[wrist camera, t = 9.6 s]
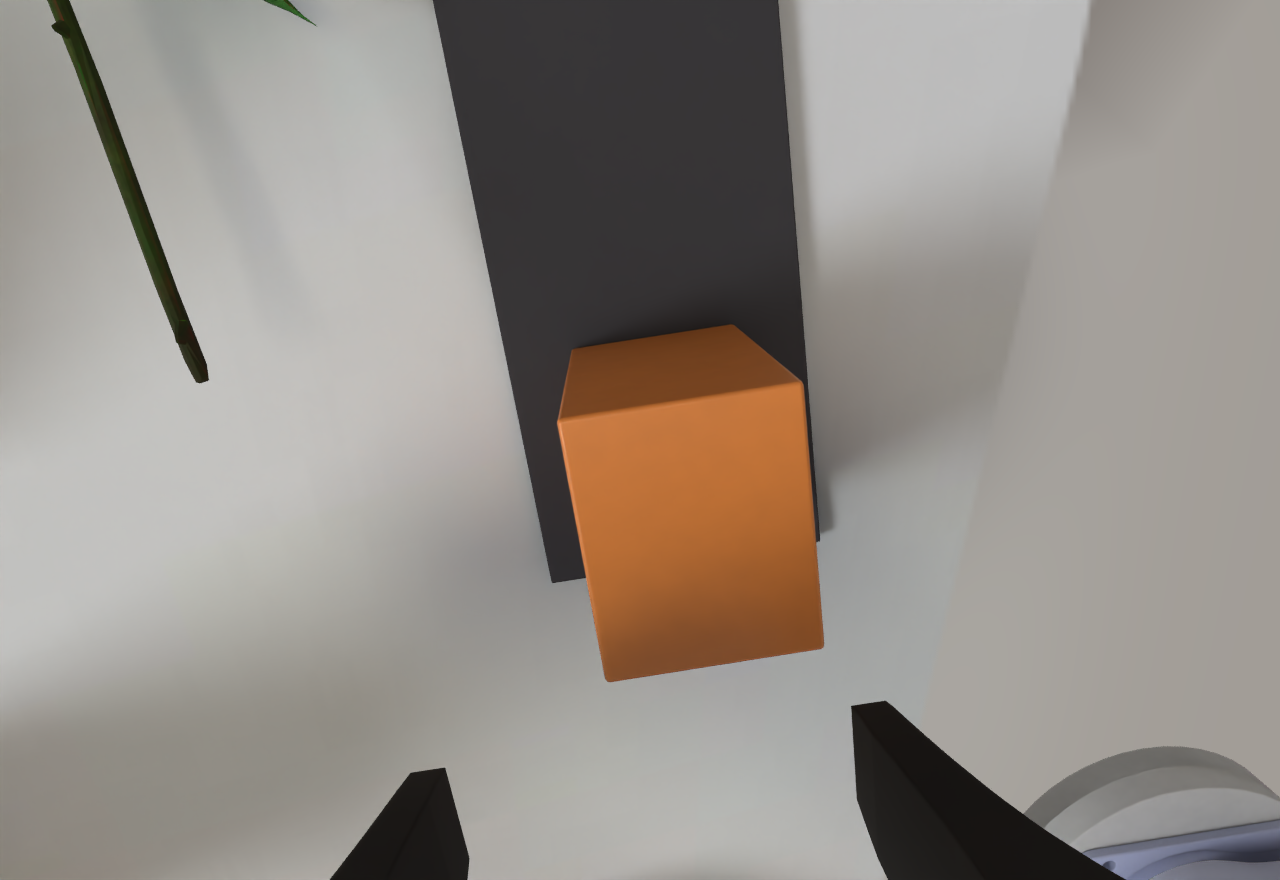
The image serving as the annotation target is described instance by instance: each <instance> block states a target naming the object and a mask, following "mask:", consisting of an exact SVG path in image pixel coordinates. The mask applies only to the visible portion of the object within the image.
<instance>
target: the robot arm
mask: <svg viewBox="0 0 1280 880" xmlns="http://www.w3.org/2000/svg"><path fill="white" fill-rule="evenodd" d="M851 709H852V726H853V742H854V758H855V775H856V791H857V801H858V804H859V806H860V809H861V812H862V815H863V818H864V821H865V824H866V827H867V829H868V832H869V835H870V838H871V841H872V843H873V846H874V849H875V851H876V854H877V857H878V859H879V861H880V864H881V866H882V868H883V870H884V872H885V874H886V876H887V878H888V880H1280V820H1275V821H1269V822H1262V823H1256V824H1250V825H1244V826H1237V827H1231V828H1225V829H1219V830H1212V831H1206V832H1200V833H1194V834H1187V835H1181V836H1175V837H1169V838H1162V839H1156V840H1150V841H1144V842H1137V843H1131V844H1125V845H1119V846H1112V847H1106V848H1100V849H1094V850H1088V851H1085V852H1083V853H1080V852H1079V851H1077V850H1076V849H1074V848H1072V847H1071V846H1069V845H1068V844H1066V843H1065V842H1063V841H1061V840H1060V839H1058V838H1057V837H1055V836H1054V835H1052V834H1051V833H1049V832H1048V831H1046V830H1045V829H1043V828H1042V827H1040V826H1039V825H1037V824H1036V823H1035V822H1033V821H1032V820H1030V819H1029V818H1028V817H1026V816H1025V815H1024V814H1022V813H1021V812H1019V811H1018V810H1017V809H1015V808H1014V807H1013V806H1011V805H1010V804H1009V803H1007V802H1006V801H1004V800H1003V799H1002V798H1001V797H999V796H998V795H997V794H995V793H994V792H993V791H991V790H990V789H989V788H988V787H986V786H985V785H984V784H983V783H981V782H980V781H979V780H978V779H976V778H975V777H974V776H973V775H972V774H970V773H969V772H968V771H967V770H965V769H964V768H963V767H962V766H960V765H959V764H958V763H957V762H956V761H954V760H953V759H952V758H951V757H950V756H948V755H947V754H946V753H945V752H944V751H943V750H941V749H940V748H939V747H938V746H937V745H936V744H934V743H933V742H932V741H931V740H930V739H929V738H927V737H926V736H925V735H924V734H923V733H922V732H921V731H920V730H919V729H917V728H916V727H915V726H914V725H913V724H912V723H911V722H910V721H908V720H907V719H906V718H905V717H904V716H903V715H902V714H901V713H900V712H899V711H897V710H896V709H895V708H894V707H893V706H892V705H890V704H889V703H888V702H887V701H881V702H874V703H867V704H861V705H854V706H851ZM468 868H469V855H468V851H467V847H466V844H465V840H464V836H463V833H462V829H461V825H460V821H459V818H458V814H457V810H456V807H455V803H454V799H453V795H452V792H451V788H450V784H449V781H448V777H447V773H446V769H445V768H439V769H433V770H426V771H420V772H413V773H410V774H409V776H408V777H407V778H406V780H405V781H404V782H403V783H402V785H401V786H400V787H399V789H398V790H397V791H396V793H395V794H394V795H393V797H392V798H391V799H390V801H389V802H388V803H387V805H386V806H385V808H384V809H383V810H382V812H381V813H380V814H379V816H378V817H377V818H376V820H375V821H374V822H373V824H372V825H371V826H370V828H369V829H368V830H367V832H366V833H365V835H364V836H363V837H362V839H361V840H360V841H359V843H358V844H357V845H356V846H355V848H354V849H353V850H352V852H351V853H350V854H349V855H348V857H347V858H346V859H345V861H344V862H343V863H342V865H341V866H340V867H339V868H338V870H337V871H336V872H335V874H334V875H333V876H332V877H331V879H330V880H467V878H468Z"/></svg>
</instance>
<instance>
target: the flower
mask: <svg viewBox="0 0 1280 880" xmlns="http://www.w3.org/2000/svg"><path fill="white" fill-rule="evenodd" d="M47 1H48V3H49V6H50V8H51V11H52V13H53V16H54V18H55V21H56V23H54V24H53V25H52V28H53V29H54V31H56V32H57V33H59V34H60V35H62V38H63V40H64V43H65V45H66V48H67V50H68V52H69V55H70V57H71V60H72V62H73V65H74V67H75V70H76V73H77V76H78V78H79V81H80V84H81V86H82V89H83V92H84V95H85V97H86V100H87V103H88V105H89V108H90V111H91V114H92V116H93V119H94V122H95V124H96V127H97V130H98V133H99V135H100V138H101V141H102V143H103V146H104V149H105V152H106V154H107V157H108V160H109V162H110V165H111V168H112V171H113V173H114V176H115V179H116V181H117V184H118V187H119V190H120V192H121V195H122V198H123V200H124V203H125V206H126V209H127V211H128V214H129V217H130V219H131V222H132V225H133V227H134V230H135V233H136V236H137V238H138V241H139V244H140V246H141V249H142V252H143V255H144V257H145V260H146V263H147V265H148V268H149V271H150V274H151V276H152V279H153V282H154V284H155V287H156V290H157V292H158V295H159V297H160V300H161V302H162V305H163V307H164V310H165V312H166V315H167V317H168V320H169V322H170V325H171V327H172V330H173V332H174V335H175V340H176V343H178V345H179V348H180V350H181V353H182V355H183V358H184V360H185V362H186V364H187V366H188V368H189V370H190V372H191V374H192V375H193V377H194V379H195V381H196V382H197V383H202V382H205V381H208V380H209V378H208V370H207V364H206V361H205V359H204V356H203V354H202V351H201V349H200V346H199V343H198V341H197V338H196V336H195V333H194V331H193V328H192V326H191V323H190V321H189V318H188V315H187V313H186V310H185V308H184V305H183V303H182V300H181V298H180V295H179V293H178V290H177V287H176V284H175V282H174V279H173V276H172V273H171V271H170V268H169V265H168V262H167V260H166V257H165V254H164V251H163V249H162V246H161V243H160V240H159V238H158V235H157V232H156V229H155V227H154V224H153V221H152V218H151V216H150V213H149V210H148V207H147V205H146V202H145V199H144V196H143V194H142V191H141V188H140V185H139V183H138V180H137V177H136V174H135V172H134V169H133V166H132V163H131V160H130V158H129V155H128V152H127V149H126V147H125V144H124V141H123V138H122V136H121V133H120V130H119V127H118V125H117V122H116V119H115V116H114V114H113V111H112V108H111V105H110V103H109V100H108V97H107V94H106V92H105V89H104V86H103V84H102V81H101V79H100V76H99V74H98V71H97V69H96V66H95V64H94V61H93V59H92V56H91V54H90V51H89V49H88V46H87V44H86V41H85V39H84V36H83V34H82V31H81V28H80V26H79V23H78V21H77V18H76V16H75V13H74V11H73V8H72V6H71V3H70V1H69V0H47ZM264 1H266V2H267V3H270V4H272V5H275V6H277V7H280V8H282V9H285V10H287V11H290V12H291V13H293V14H295V15H297V16H299V17H301V18H303V19H304V20H306V21H308V22H310V23H312V22H311V21H310V20H308V19H307V18H306V17H304V16H303V15H302V14H301V13H300V12H299V11H298V10H297V9H296V8H295V7H294V6H293V5H292V4H291V3H290V2H289V1H288V0H264ZM312 24H314V23H312ZM314 25H315V24H314ZM315 26H316V25H315ZM317 27H318V26H317Z"/></svg>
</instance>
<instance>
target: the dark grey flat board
mask: <svg viewBox="0 0 1280 880" xmlns="http://www.w3.org/2000/svg"><path fill="white" fill-rule="evenodd" d="M433 3H434V8H435V13H436V18H437V23H438V28H439V32H440V37H441V42H442V47H443V52H444V57H445V62H446V67H447V72H448V77H449V81H450V86H451V91H452V96H453V101H454V106H455V111H456V116H457V121H458V126H459V130H460V135H461V140H462V145H463V150H464V155H465V160H466V165H467V170H468V174H469V179H470V184H471V189H472V194H473V199H474V204H475V209H476V214H477V219H478V223H479V228H480V233H481V238H482V243H483V248H484V253H485V258H486V263H487V268H488V272H489V277H490V282H491V287H492V292H493V297H494V302H495V307H496V312H497V316H498V321H499V326H500V331H501V336H502V341H503V346H504V351H505V356H506V361H507V365H508V370H509V375H510V380H511V385H512V390H513V395H514V400H515V405H516V410H517V414H518V419H519V424H520V429H521V434H522V439H523V444H524V449H525V454H526V458H527V463H528V468H529V473H530V478H531V483H532V488H533V493H534V498H535V503H536V507H537V512H538V517H539V522H540V527H541V532H542V537H543V542H544V547H545V552H546V556H547V561H548V566H549V571H550V576H551V581H552V583H556V582H562V581H569V580H575V579H581V578H586V575H585V569H584V564H583V559H582V553H581V548H580V543H579V537H578V532H577V527H576V521H575V516H574V511H573V505H572V500H571V495H570V489H569V484H568V479H567V473H566V468H565V463H564V457H563V452H562V447H561V442H560V436H559V431H558V426H557V421H558V416H559V411H560V406H561V401H562V396H563V391H564V386H565V381H566V376H567V372H568V367H569V362H570V357H571V352H572V350H573V349H575V348H582V347H588V346H594V345H601V344H607V343H614V342H620V341H627V340H633V339H640V338H646V337H653V336H659V335H666V334H672V333H679V332H685V331H692V330H698V329H705V328H711V327H718V326H724V325H731V324H732V325H734V326H736V327H737V328H738V329H739V330H740V331H742V332H743V333H744V334H745V335H746V336H748V337H749V338H750V339H751V340H753V341H754V342H755V343H756V344H757V345H759V346H760V347H761V348H762V349H763V350H765V351H766V352H767V353H768V354H769V355H771V356H772V357H773V358H774V359H775V360H777V361H778V362H779V363H780V364H781V365H783V366H784V367H785V368H786V369H787V370H789V371H790V372H791V373H792V374H793V375H795V376H796V377H797V378H798V379H799V380H801V381H802V383H803V385H804V396H805V408H806V421H807V434H808V446H809V459H810V471H811V484H812V496H813V509H814V522H815V534H816V542H818V541H820V533H819V520H818V507H817V495H816V482H815V469H814V456H813V443H812V430H811V417H810V404H809V392H808V379H807V366H806V353H805V340H804V327H803V314H802V301H801V289H800V276H799V263H798V250H797V237H796V224H795V211H794V198H793V186H792V173H791V160H790V147H789V134H788V121H787V108H786V95H785V83H784V70H783V57H782V44H781V31H780V18H779V5H778V0H433Z"/></svg>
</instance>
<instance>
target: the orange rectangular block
mask: <svg viewBox="0 0 1280 880" xmlns="http://www.w3.org/2000/svg"><path fill="white" fill-rule="evenodd" d="M557 426H558V431H559V436H560V442H561V447H562V452H563V457H564V463H565V468H566V473H567V479H568V484H569V489H570V495H571V500H572V505H573V511H574V516H575V521H576V527H577V532H578V537H579V543H580V548H581V553H582V559H583V564H584V569H585V575H586V580H587V585H588V591H589V596H590V601H591V607H592V612H593V617H594V623H595V628H596V633H597V638H598V644H599V649H600V654H601V660H602V665H603V670H604V676H605V679H606V680H607V682H614V681H621V680H627V679H633V678H640V677H646V676H652V675H659V674H665V673H671V672H678V671H684V670H690V669H697V668H703V667H709V666H716V665H722V664H728V663H735V662H741V661H747V660H754V659H760V658H767V657H773V656H779V655H786V654H792V653H798V652H805V651H811V650H817V649H822V648H823V647H824V635H823V622H822V610H821V597H820V584H819V572H818V559H817V547H816V534H815V522H814V509H813V496H812V484H811V471H810V459H809V446H808V434H807V421H806V408H805V396H804V385H803V383H802V381H801V380H799V379H798V378H797V377H796V376H795V375H793V374H792V373H791V372H790V371H789V370H787V369H786V368H785V367H784V366H783V365H781V364H780V363H779V362H778V361H777V360H775V359H774V358H773V357H772V356H771V355H769V354H768V353H767V352H766V351H765V350H763V349H762V348H761V347H760V346H759V345H757V344H756V343H755V342H754V341H753V340H751V339H750V338H749V337H748V336H746V335H745V334H744V333H743V332H742V331H740V330H739V329H738V328H737V327H736V326H734V325H732V324H731V325H724V326H718V327H711V328H705V329H698V330H692V331H685V332H679V333H672V334H666V335H659V336H653V337H646V338H640V339H633V340H627V341H620V342H614V343H607V344H601V345H594V346H588V347H582V348H575V349H573V350H572V352H571V357H570V362H569V367H568V372H567V376H566V381H565V386H564V391H563V396H562V401H561V406H560V411H559V416H558V421H557Z"/></svg>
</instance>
